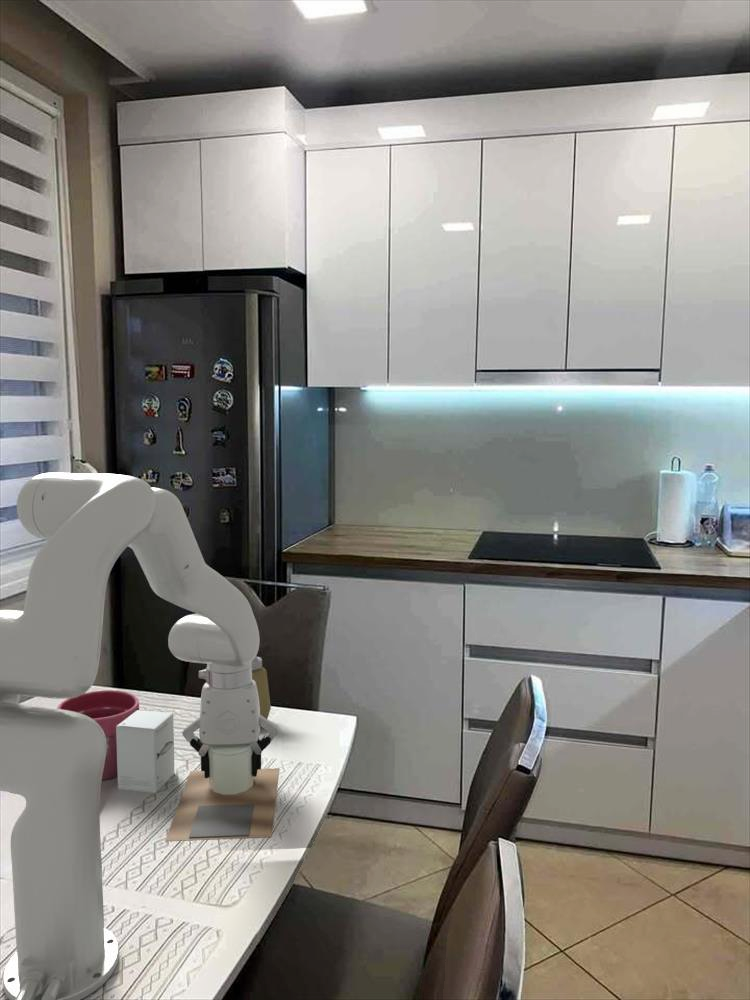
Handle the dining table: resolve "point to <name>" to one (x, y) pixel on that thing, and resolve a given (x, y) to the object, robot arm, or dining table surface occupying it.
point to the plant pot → (105, 718)
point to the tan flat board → (225, 810)
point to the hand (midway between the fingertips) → (231, 773)
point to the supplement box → (145, 751)
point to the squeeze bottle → (261, 686)
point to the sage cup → (230, 768)
